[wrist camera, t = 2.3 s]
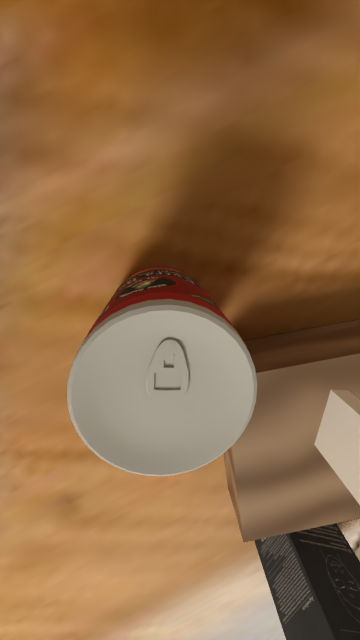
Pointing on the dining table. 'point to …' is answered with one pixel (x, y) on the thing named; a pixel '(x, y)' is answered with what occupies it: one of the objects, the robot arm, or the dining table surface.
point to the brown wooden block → (293, 433)
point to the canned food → (161, 378)
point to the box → (313, 583)
